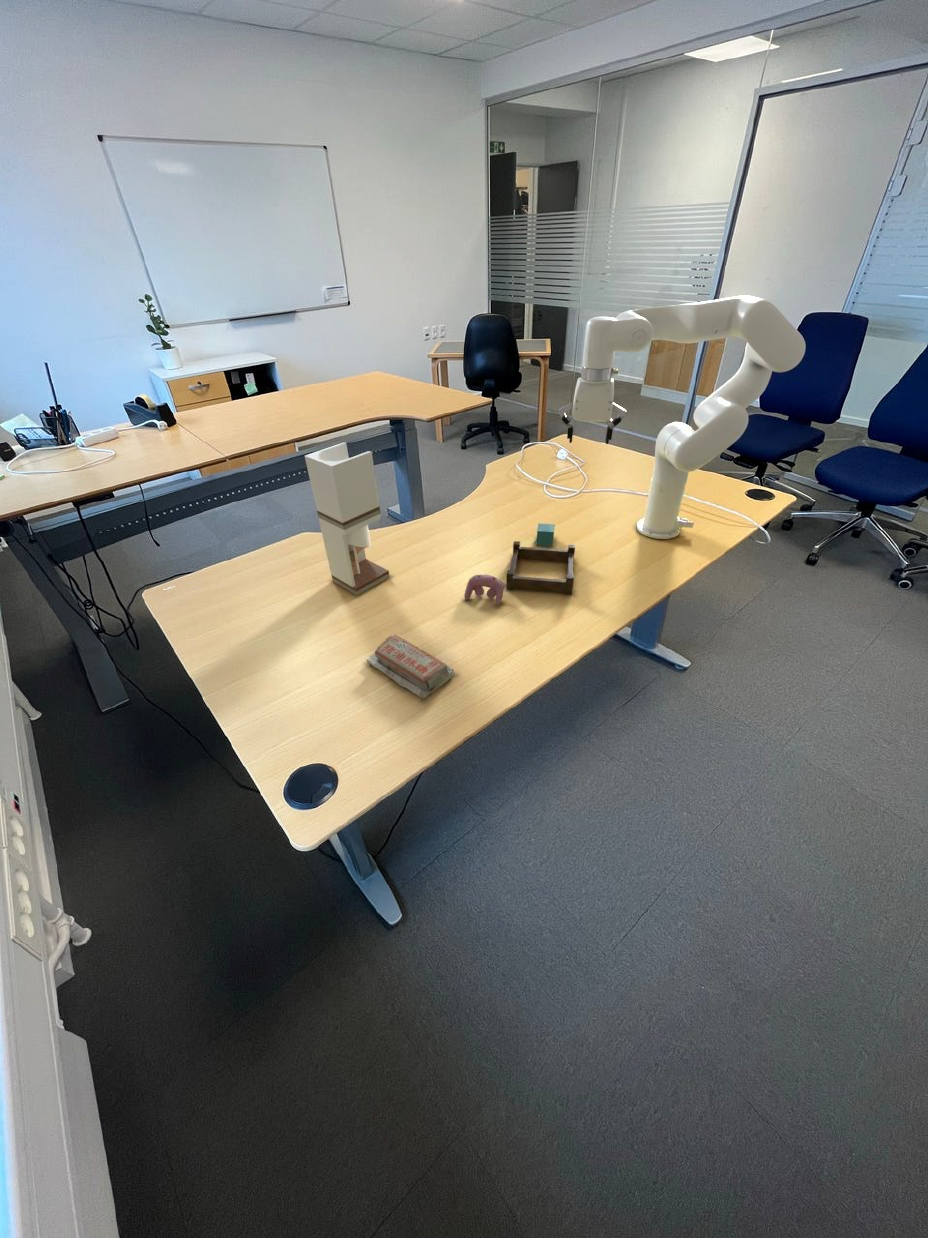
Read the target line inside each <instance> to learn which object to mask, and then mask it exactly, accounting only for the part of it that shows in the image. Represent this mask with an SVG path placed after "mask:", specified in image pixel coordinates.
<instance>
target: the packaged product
mask: <svg viewBox="0 0 928 1238" xmlns="http://www.w3.org/2000/svg"><path fill="white" fill-rule="evenodd" d="M366 662H367V664H369V665H370V666H372V667H374V668H375V669H377V670H379V671H380V672H381V673H383V674H384V675H386V676H387V677H388V678H390V679H392V680H393V681H394V682H395V683H396V684H397V685H398V686H400V687H402V688H405V689H407V690H409V691H410V692H411V693H413V694H414V695H416V696H418V697H419V698H421V699H422V700H425V699H426V698H427V697H429V696H430V695H431V694H433V693H434V692H436V691H437V690H438V689H439V688H440V687H442V686H443V685H445V683H447V682H448V681H449V680H450V679H451V678H452V677H454V676H455V669H454V668H451V666H449V665H448V664H446V663H444V662H442V661H441V660H440V659H438V658H436V657H434V656H433V655H432V654H429V653H427V652H426V651H424V650H422V649H421V648H419V647H418V646H416V645H414V644H412V643H411V642H409V641H408V640H406V639H404V638H402V637H401V636H399V635H397V634H392V635H389V636H387V637H386V638H385V639H384V640H383V642H382V643H381V644H380V645H379V646H377V648H376V649H375V650H374V654H372V655H370V656H369V657H368V658H367V659H366Z"/></svg>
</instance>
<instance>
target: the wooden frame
mask: <svg viewBox="0 0 928 1238" xmlns="http://www.w3.org/2000/svg"><path fill="white" fill-rule="evenodd" d="M575 552H576V545H575V544H568V547H567V549H562V548H561V549H559V548H546V547H544V548H543V547H531V546H530V547H529V546H521V541H520V540H519V541H516V540H514V541H513V544H512V557H511V562H510V566H509V569H507V570H506V574H505V575H506V577H505V578H506V579H505V580H506V581H505V582H506V583H505V590H508V591H513V590H515V591H525V592H526V591H527V592H540V593H551V594H562V595H563V594H564V595H571V596H572V595H573V588H574V580H575V574H573V569H574V560H575ZM519 560H520V561H521V560H522V561H534V562H535V561H536V562H537V561H538V562H551V563H564V564H565V563H566V564H567V568H566V569H567V571H566V578H565V579H560V578H559V579H558V578H545V577H543V578H542V577H533V576H520V575H519V576H517V575H516V571H517V567H518V563H519V562H518V561H519Z"/></svg>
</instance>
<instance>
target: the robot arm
mask: <svg viewBox="0 0 928 1238" xmlns="http://www.w3.org/2000/svg"><path fill="white" fill-rule="evenodd" d="M585 324H586V325H585V331H584V343H583V353H582V362H581V371H580V372H581V373H580V377H578V378H577V380H576V384H575V390H574V395H573V401H572V402H569V403H568V404H566V405H563V406H561V407H560V408H559V409H558V414H559V417H560V418H561V421H562V423H564V425H566V428H567V435H566V436H567V437H566V439H567V440H569V444H572V442H573V437H574V436H573V435H574V425H575V423H576V422H594V423H595V422H598V423H599V422H601V423H603V422H605V423H606V425H607V426H606V432H605V444H606V445H609V442H610V441H612V439H613V433H614V432H613V431H614V429H615V427H616V426H618V425H619V424H620V423H621V422H622V420H623V419H624V418H625V416H626V415H627V410H626V409H625V408H623V407H622V406H620V405H618V404H616V403H615V402H614V398H615V397H614V396H615V379H614V378H613V377H614V376H619V368H616V367H614V361H615V352H621V353H633V354H634V353H635V354H636V353H639V352H642V351H644V350H646V349H647V348H648V346H649V345H650V344H651V343H652V341H668V342H673V343H678V344H696V343H703V342H709V341H715V340H721V339H729V338H738V339H740V340H743V341H745V342H746V345H745V348H744V349H745V350H744V355H743V359H742V363H741V365H740V366H739V369H738V370H737V371H736V373H735V374H734V375H733V376H732V377H731V378H730V379H729V380H727V381H726V382H725V383H724V384H723V385H721V386H720V387H719V388H718V389H716V390H715V391H714V392H712V393H711V394H710V395H709V396H708V397H706V398H705V399H704V400H703V401H702V402H701V403H699V404H698V405H697V407H696V408H695V410H694V412H693V421H694V423H695V425H696V426H697V430H695V429H693V427H691V426H690V425H688V424H686V423H685V422H681V421H673V422H671V423H668V424H666V425H665V426H663V428H662V429H661V430H660V431H659V433H658V434H657V437H656V440H655V447H654V448H655V449H654V464H653V471H652V475H651V480H650V485H649V490H648V494H647V495H648V496H647V500H646V505H645V509H644V515H643V518H641V519H640V520H638V522H637V524H636V529H637V532H639V533H640V534H642V535H643V536H646V537H648V538H651V539H657V540H669V539H674V538H676V537H677V536H679V535H680V533H681V529H682V528H686V529H693V528H694V525H695V524H694V521H691V520H690V521H689V519H688V518H686V517H685V518H684V517H683V518H681V517H680V516H679V515H680V514H679V513H680V511H681V506H682V502H683V499H684V494H685V490H686V487H687V482H688V478H689V473H691V472H695V471H696V470H697V471H698V470H699V469H701V468H702V467H704V466H705V465H706V464H708V463H709V462H711V461H712V460H714V459H715V458H716V457H717V456H719V455H720V454H722V453H723V452H724V451H725V450H727V449H729V448H730V447H731V446H732V445H733V444H735V442H737V441H738V440H739V439H740V438H741V437H742V435H743V434H744V433H745V432H746V429H747V428H748V426H749V425H748V424H749V414H748V411H747V408H748V407H750V405H752V404H753V403H754V402H755V401H757V400H758V399H759V397H761V396H762V395H763V393H764V392H765V391H766V388H767V386H768V384H769V382H770V379H771V377H772V374H773V372H774V373H785V372H789V371H790V370H793V369H794V368H796V367H797V366H798V365H799V364H800V363H801V362H802V360H803V358H804V356H805V353H806V341H805V339H804V337H803V335H802V333H800V332H799V331H798V329H797V328H796V327H795V326H794V325H793V324H792V323H791V322H790V321H789V320H788V318H787V317H786V316H785V315H784V314H783V312H781V310H780V309H779V308H778V307H777V306H776V305H775V304H774V303H772V302H771V301H770V300H767V299H765V298H760V297H757V296H752V295H738V296H732V297H731V296H730V297H725V298H718V299H713V300H707V301H706V300H705V301H699V302H692V303H681V304H672V305H661V306H651V307H644V308H643V307H642V308H637V309H629V310H626V311H623V312H621V313H619V314H617V315H616V316H615V317H612V316H595V317H591V318H589V319H588V320H587V322H586V323H585ZM570 410H572V416H571V417H570V418H569V417H568V416H567V415H566V412H568V411H570ZM613 411H614V412H617V413H618V415H617V416H616V417H614V419H612V416H613Z"/></svg>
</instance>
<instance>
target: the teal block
mask: <svg viewBox="0 0 928 1238" xmlns="http://www.w3.org/2000/svg"><path fill="white" fill-rule="evenodd" d="M555 527H556V526H555V524H554V523H538V524H537V530H536V544H535V545H536V546H539V547H554V539H555V538H554V537H555Z"/></svg>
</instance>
